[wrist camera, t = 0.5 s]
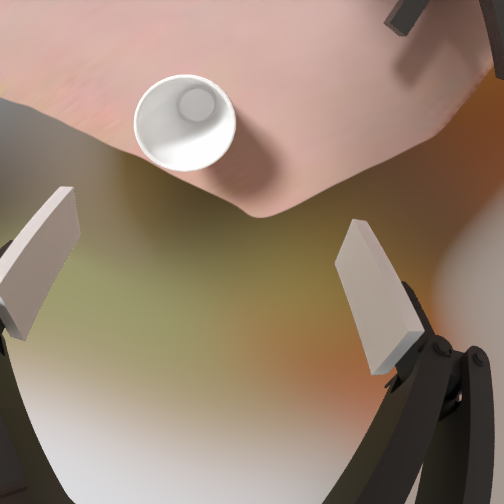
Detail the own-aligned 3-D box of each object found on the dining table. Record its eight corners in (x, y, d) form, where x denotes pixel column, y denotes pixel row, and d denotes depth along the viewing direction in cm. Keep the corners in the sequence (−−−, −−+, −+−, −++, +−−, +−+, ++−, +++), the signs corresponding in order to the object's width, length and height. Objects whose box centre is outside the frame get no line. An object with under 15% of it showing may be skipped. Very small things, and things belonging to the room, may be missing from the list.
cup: (235, 64, 32) (234, 70, 23) (238, 137, 38) (238, 169, 30) (156, 72, 32) (127, 83, 23) (164, 143, 38) (141, 176, 29)
